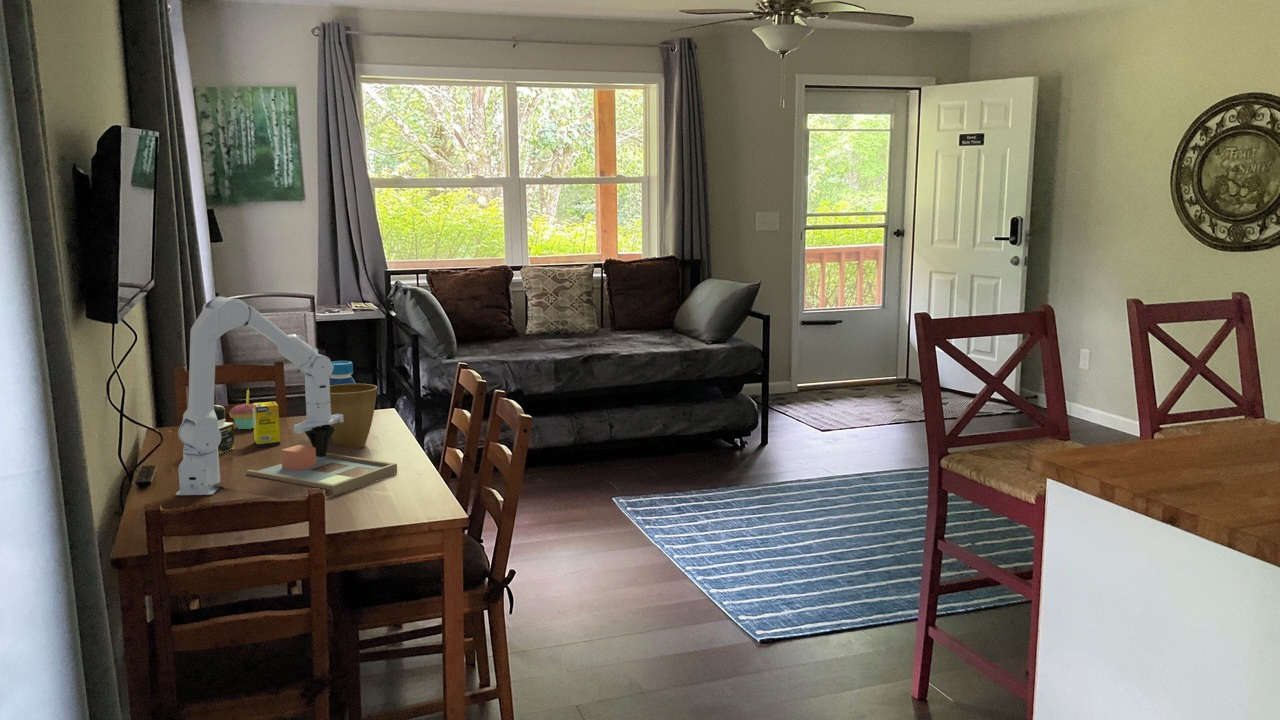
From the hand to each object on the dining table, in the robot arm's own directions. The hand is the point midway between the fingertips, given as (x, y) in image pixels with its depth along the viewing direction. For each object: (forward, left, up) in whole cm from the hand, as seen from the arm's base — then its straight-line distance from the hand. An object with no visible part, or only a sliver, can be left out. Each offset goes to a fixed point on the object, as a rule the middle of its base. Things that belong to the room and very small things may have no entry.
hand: (320, 456), depth 237 cm
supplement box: (+23, +20, -3) cm, 31 cm away
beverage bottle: (+36, +3, -3) cm, 37 cm away
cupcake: (+42, +32, -3) cm, 53 cm away
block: (-6, +3, -1) cm, 7 cm away
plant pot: (+19, -3, -3) cm, 20 cm away
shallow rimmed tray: (-10, -3, -2) cm, 10 cm away
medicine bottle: (+15, +31, -3) cm, 35 cm away
